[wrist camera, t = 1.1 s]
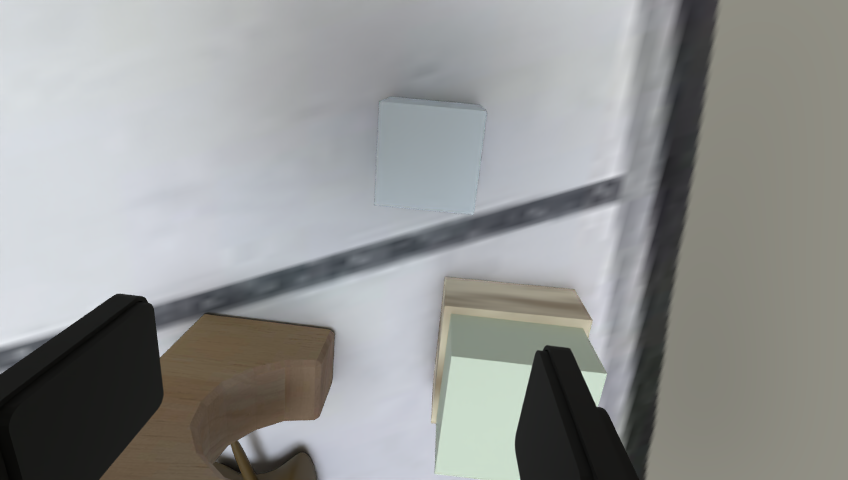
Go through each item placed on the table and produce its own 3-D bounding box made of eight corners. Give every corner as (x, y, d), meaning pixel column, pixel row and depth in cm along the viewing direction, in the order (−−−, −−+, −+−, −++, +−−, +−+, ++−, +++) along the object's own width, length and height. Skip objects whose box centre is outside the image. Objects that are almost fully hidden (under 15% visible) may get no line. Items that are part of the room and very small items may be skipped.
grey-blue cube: (391, 96, 31) (379, 101, 25) (479, 104, 31) (487, 111, 25) (386, 183, 33) (374, 205, 27) (468, 190, 33) (473, 214, 27)
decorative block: (337, 328, 37) (224, 587, 18) (332, 385, 39) (227, 672, 20) (202, 309, 37) (-48, 549, 18) (205, 367, 39) (-19, 638, 20)
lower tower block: (445, 275, 35) (444, 305, 31) (573, 287, 35) (592, 320, 31) (432, 381, 39) (431, 423, 34) (549, 392, 39) (563, 436, 34)
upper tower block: (450, 313, 31) (451, 356, 26) (582, 328, 31) (607, 373, 26) (436, 418, 34) (434, 474, 29) (556, 432, 34) (573, 490, 29)
